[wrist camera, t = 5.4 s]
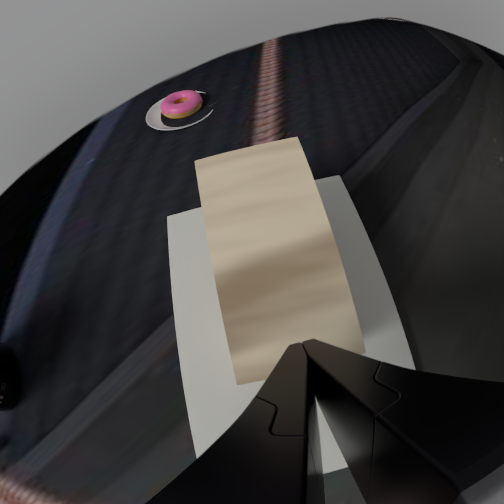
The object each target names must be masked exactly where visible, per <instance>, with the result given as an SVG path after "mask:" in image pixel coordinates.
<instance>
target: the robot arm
mask: <svg viewBox="0 0 504 504" xmlns="http://www.w3.org/2000/svg"><path fill="white" fill-rule="evenodd" d="M315 397H316V398H315ZM316 400H317V403H318V405H319V407H320V409H321V411H322V413H323V415H324V417H325V420H326V422H327V424H328V426H329V428H330V430H331V432H332V434H333V436H334V438H335V440H336V442H337V444H338V446H339V448H340V450H341V453H342V455H343V457H344V459H345V461H346V463H347V465H348V467H349V469H350V471H351V473H352V475H353V477H354V479H355V481H356V483H357V485H358V487H359V489H360V491H361V493H362V496H363V498H364V500H365V502H366V503H367V504H504V383H503V382H494V381H485V380H477V379H469V378H462V377H455V376H448V375H442V374H435V373H429V372H423V371H418V370H413V369H408V368H404V367H400V366H397V365H393V364H390V363H386V362H381V361H379V360H376V359H372V358H369V357H366V356H363V355H360V354H357V353H354V352H351V351H348V350H345V349H342V348H339V347H337V346H334V345H331V344H328V343H325V342H322V341H319V340H317V339H310V340H306V341H303V342H302V343H300V342H298V343H294V344H290V345H289V346H288V347H287V349H286V350H285V352H284V353H283V355H282V356H281V358H280V359H279V361H278V363H277V364H276V366H275V367H274V369H273V370H272V372H271V373H270V375H269V376H268V378H267V379H266V381H265V382H264V384H263V385H262V387H261V388H260V390H259V391H258V393H257V394H256V395H255V397H254V398H253V399H252V400H251V402H250V403H249V405H248V406H247V407H246V409H245V410H244V411H243V412H242V414H241V415H240V416H239V417H238V418H237V419H236V421H235V422H234V423H233V424H232V425H231V426H230V427H229V428H228V429H227V430H226V431H225V432H224V433H223V434H222V435H221V436H220V437H219V438H218V439H217V440H216V441H215V442H214V443H213V444H212V445H211V446H210V447H209V448H208V449H207V450H206V451H205V452H204V453H203V454H202V455H200V456H199V457H198V458H197V459H196V460H195V461H194V462H193V463H192V464H191V465H190V466H189V467H187V468H186V469H185V470H184V471H183V472H182V473H181V474H180V475H179V476H177V477H176V478H175V479H174V480H173V481H172V482H171V483H169V484H168V485H167V486H166V487H165V488H164V489H162V490H161V491H160V492H159V493H158V494H156V495H155V496H154V497H153V498H152V499H150V500H149V501H148V502H147V503H145V504H325V495H324V480H323V467H322V455H321V444H320V433H319V423H318V413H317V405H316Z"/></svg>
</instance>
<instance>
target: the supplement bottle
mask: <svg viewBox="0 0 504 504" xmlns="http://www.w3.org/2000/svg"><path fill="white" fill-rule="evenodd" d="M19 391H20V370H19V365H18V362H17V359H16V357H15V355H14V353H13V351H12V350H11V349H10V348H9V347H8V346H7V345H5V344H3V343H1V342H0V411H7V410H9V409H11V408H12V407H13V406H14V404H15V403H16V401H17V398H18V395H19Z"/></svg>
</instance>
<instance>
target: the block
mask: <svg viewBox="0 0 504 504" xmlns="http://www.w3.org/2000/svg"><path fill="white" fill-rule="evenodd" d="M195 168H196V174H197V181H198V187H199V193H200V199H201V205H202V211H203V217H204V223H205V229H206V235H207V240H208V246H209V251H210V257H211V262H212V268H213V273H214V278H215V283H216V289H217V294H218V299H219V304H220V309H221V314H222V318H223V323H224V328H225V333H226V338H227V342H228V347H229V351H230V356H231V361H232V365H233V369H234V374H235V378H236V383H237V385H242V384H247V383H252V382H257V381H262V380H266V379H267V378H268V376H269V375H270V373H271V372H272V370H273V369H274V367H275V366H276V364H277V363H278V361H279V359H280V358H281V356H282V355H283V353H284V352H285V350H286V349H287V347H288V346H289V345H290V344H294V343H298V342H300V343H302V342H303V341H306V340H310V339H317V340H319V341H322V342H325V343H328V344H331V345H334V346H337V347H339V348H342V349H345V350H348V351H351V352H354V353H357V354H364V353H366V350H365V345H364V341H363V337H362V333H361V329H360V325H359V321H358V317H357V314H356V310H355V306H354V302H353V299H352V295H351V292H350V288H349V285H348V281H347V278H346V274H345V271H344V268H343V264H342V261H341V258H340V255H339V251H338V248H337V245H336V242H335V239H334V236H333V233H332V230H331V227H330V224H329V221H328V218H327V215H326V212H325V209H324V206H323V203H322V200H321V197H320V195H319V192H318V189H317V186H316V184H315V181H314V178H313V175H312V173H311V170H310V167H309V165H308V162H307V160H306V157H305V155H304V152H303V149H302V147H301V144H300V142H299V139H298V137H294V138H288V139H283V140H279V141H274V142H269V143H264V144H260V145H255V146H251V147H247V148H243V149H238V150H234V151H230V152H226V153H222V154H219V155H215V156H211V157H207V158H204V159H200V160H196V161H195Z"/></svg>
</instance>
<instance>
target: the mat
mask: <svg viewBox="0 0 504 504" xmlns="http://www.w3.org/2000/svg"><path fill="white" fill-rule="evenodd" d="M314 181H315V184H316V186H317V189H318V192H319V195H320V197H321V200H322V203H323V206H324V209H325V212H326V215H327V218H328V221H329V224H330V227H331V230H332V233H333V236H334V239H335V242H336V245H337V248H338V251H339V255H340V258H341V261H342V264H343V268H344V271H345V274H346V278H347V281H348V285H349V288H350V292H351V295H352V299H353V302H354V306H355V310H356V314H357V317H358V321H359V325H360V329H361V333H362V337H363V341H364V345H365V350H366V353H364V354H360V355H363V356H366V357H369V358H372V359H376V360H379V361H381V362H386V363H390V364H393V365H397V366H400V367H404V368H408V369H413V370H416V369H415V366H414V362H413V359H412V355H411V352H410V349H409V345H408V342H407V339H406V336H405V333H404V330H403V327H402V324H401V321H400V318H399V315H398V312H397V309H396V306H395V303H394V300H393V298H392V295H391V292H390V289H389V287H388V284H387V282H386V279H385V276H384V274H383V271H382V269H381V266H380V264H379V261H378V259H377V256H376V254H375V251H374V249H373V247H372V244H371V242H370V240H369V237H368V235H367V233H366V230H365V228H364V226H363V224H362V221H361V219H360V217H359V215H358V213H357V210H356V208H355V206H354V204H353V202H352V200H351V198H350V196H349V194H348V192H347V190H346V187H345V185H344V183H343V181H342V179H341V177H340V175H338V176H333V177H328V178H323V179H318V180H314ZM167 224H168V244H169V260H170V274H171V287H172V298H173V308H174V318H175V327H176V336H177V344H178V352H179V359H180V366H181V373H182V380H183V386H184V393H185V399H186V405H187V410H188V416H189V421H190V427H191V432H192V437H193V442H194V447H195V452H196V456H197V458H198V457H199V456H200V455H202V454H203V453H204V452H205V451H206V450H207V449H208V448H209V447H210V446H211V445H212V444H213V443H214V442H215V441H216V440H217V439H218V438H219V437H220V436H221V435H222V434H223V433H224V432H225V431H226V430H227V429H228V428H229V427H230V426H231V425H232V424H233V423H234V422H235V421H236V419H237V418H238V417H239V416H240V415H241V414H242V412H243V411H244V410H245V409H246V407H247V406H248V405H249V403H250V402H251V400H252V399H253V398H254V397H255V395H256V394H257V393H258V391H259V390H260V388H261V387H262V385H263V384H264V382H265V381H266V380H262V381H257V382H252V383H247V384H242V385H237V383H236V378H235V374H234V369H233V365H232V361H231V356H230V351H229V347H228V342H227V338H226V333H225V328H224V323H223V318H222V314H221V309H220V304H219V299H218V294H217V289H216V283H215V278H214V273H213V268H212V262H211V257H210V251H209V246H208V240H207V235H206V229H205V223H204V217H203V211H202V207H200V208H196V209H193V210H189V211H185V212H182V213H178V214H175V215H171V216H168V217H167ZM315 398H316V397H315ZM316 405H317V413H318V423H319V433H320V444H321V455H322V467H323V474H324V473H328V472H332V471H335V470H339V469H342V468H346V467H348V465H347V463H346V461H345V459H344V457H343V455H342V453H341V450H340V448H339V446H338V444H337V442H336V440H335V438H334V436H333V434H332V432H331V430H330V428H329V426H328V424H327V422H326V420H325V417H324V415H323V413H322V411H321V409H320V407H319V405H318V403H317V400H316Z"/></svg>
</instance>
